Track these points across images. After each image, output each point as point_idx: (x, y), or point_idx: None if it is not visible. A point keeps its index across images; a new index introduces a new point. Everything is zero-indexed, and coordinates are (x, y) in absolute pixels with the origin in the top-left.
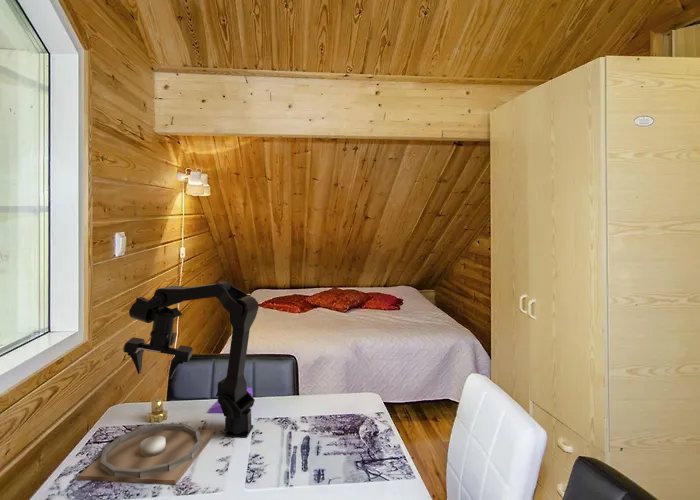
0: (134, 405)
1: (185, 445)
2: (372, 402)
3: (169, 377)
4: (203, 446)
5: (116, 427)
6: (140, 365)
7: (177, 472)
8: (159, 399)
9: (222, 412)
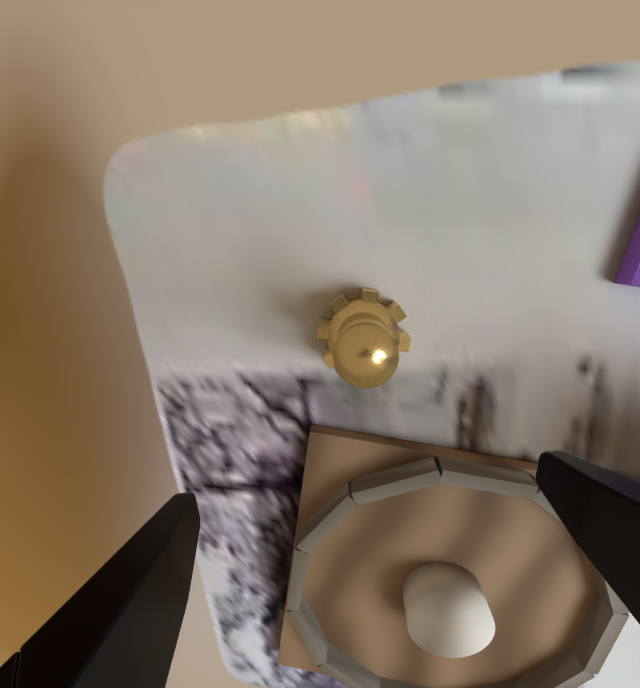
0: (181, 163)
1: (549, 580)
2: None
3: (552, 504)
4: None
5: (222, 391)
6: (151, 646)
7: None
8: (377, 347)
9: None
